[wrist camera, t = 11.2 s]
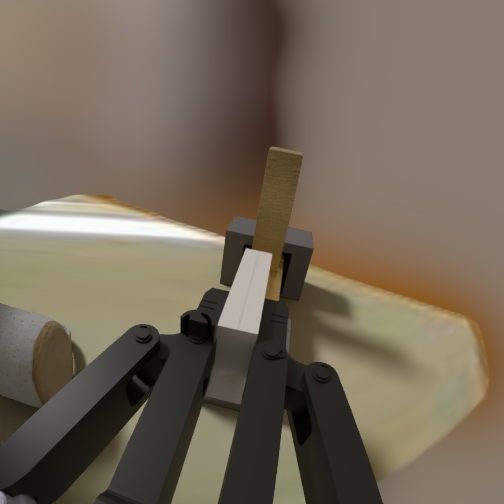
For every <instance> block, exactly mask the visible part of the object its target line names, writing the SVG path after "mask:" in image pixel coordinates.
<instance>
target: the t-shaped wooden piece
mask: <svg viewBox="0 0 504 504" xmlns="http://www.w3.org/2000/svg"><path fill="white" fill-rule="evenodd" d="M302 158H303V153H302V152H298V151H293V150H288V149H282V148H277V147H271V148H270V149H269V152H268V159H267V164H266V169H265V175H264V181H263V187H262V193H261V199H260V204H259V210H258V215H257V221H256V227H255V233H254V238H253V244H252V246H251V248H250V249H252V250H257V251H262V252H267V253H271V254H272V259H271V265H270V270H269V276H268V282H267V287H266V293H265V298H266V299H270V300H275V301H279V295H280V287H281V280H282V272H283V263H284V255H285V252H282V251H283V247H284V243H285V238H286V234H287V229H288V224H289V220H290V215H291V211H292V206H293V201H294V197H295V192H296V187H297V182H298V178H299V173H300V168H301V163H302Z"/></svg>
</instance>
